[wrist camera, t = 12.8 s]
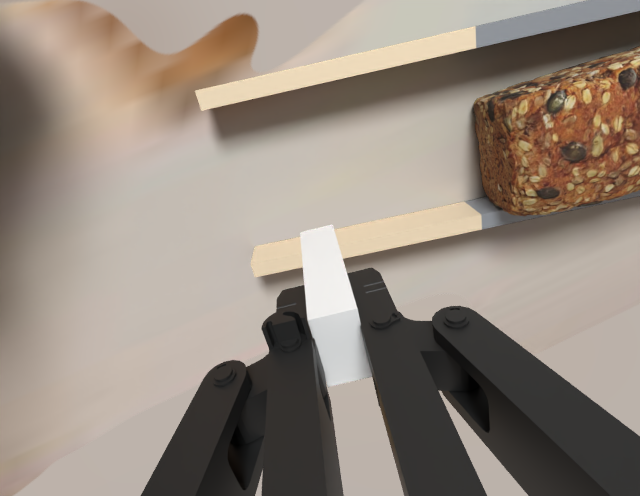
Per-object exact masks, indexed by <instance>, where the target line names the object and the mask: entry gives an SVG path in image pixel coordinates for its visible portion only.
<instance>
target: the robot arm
mask: <svg viewBox="0 0 640 496" xmlns="http://www.w3.org/2000/svg"><path fill="white" fill-rule="evenodd" d="M300 239H301V251H302V263H303V274H304V285H303V286H298V287H294V288H290V289H286V290H282V292H281V293H280V295H279V297H278V298H277V311H276V313H274V314H272V315H271V316H269V317H268V318H267V319H266V320H265V321H264V322H263V325H262V331H263V334H264V336H265V339H266V342H267V344H268V347H269V354H268V355H266V356H265V357H264V358H263V359H261V360H259V361H258V362H256V363H254V364H252V365H250V366H248V367H246V366H245V364H244V363H242V362H241V361H236V360H231V361H226V362H223V363H221V364H219V365H217V366H215V367H214V368H213V369H212V370H210V371H209V372H208V374H207V375H206V376H205V378H204V379H203V381H202V383H201V385H200V387H199V389H198V391H197V392H196V394H195V396H194V398H193V400H192V402H191V403H190V405H189V407H188V409H187V411H186V413H185V414H184V416H183V418H182V420H181V422H180V424H179V426H178V428H177V429H176V431H175V433H174V435H173V437H172V439H171V441H170V442H169V444H168V446H167V448H166V450H165V452H164V454H163V455H162V457H161V459H160V461H159V463H158V465H157V467H156V469H155V470H154V472H153V474H152V476H151V478H150V480H149V481H148V483H147V485H146V487H145V489H144V491H143V493H142V494H141V496H255V494H256V490H257V487H258V483H259V479H260V476H261V472H262V469H263V479H262V496H343V488H342V481H341V475H340V467H339V459H338V453H337V445H336V437H335V430H334V423H333V416H332V408H331V401H330V397H329V394H328V391H327V387H326V383H327V386H328V387H331V386H335V385H340V384H343V383H348V382H352V381H356V380H361V379H364V378H369V377H373V381H374V385H375V390H376V394H377V398H378V402H379V406H380V408H381V411H382V415H383V419H384V422H385V426H386V430H387V433H388V437H389V441H390V445H391V448H392V452H393V456H394V459H395V463H396V466H397V470H398V474H399V478H400V481H401V485H402V488H403V492H404V496H487V495H486V493H485V490H484V488H483V486H482V484H481V482H480V479H479V477H478V475H477V473H476V471H475V469H474V467H473V465H472V462H471V460H470V458H469V456H468V454H467V452H466V449H465V447H464V445H463V443H462V441H461V439H460V436H459V434H458V432H457V430H456V428H455V426H454V424H453V421H452V419H451V417H450V415H449V413H448V411H447V409H446V406H445V404H444V402H443V400H442V398H441V396H440V394H439V391H438V390H441V391H442V393H443V395H444V396H445V397H446V399H447V400H448V401H449V402H450V403H451V404H452V406H453V407H454V408H455V409H456V410H457V412H458V413H459V414H460V415H461V416H462V417H463V419H464V420H465V421H466V422H467V423H468V425H469V426H470V427H471V428H472V429H473V430H474V432H475V433H476V434H477V435H478V436H479V438H480V439H481V440H482V441H483V442H484V444H485V445H486V446H487V447H488V448H489V449H490V451H491V452H492V453H493V454H494V455H495V457H496V458H497V459H498V460H499V461H500V462H501V464H502V465H503V466H504V467H505V468H506V470H507V471H508V472H509V473H510V474H511V475H512V476H513V478H514V479H515V480H516V481H517V482H518V484H519V485H520V486H521V487H522V488H523V490H524V491H525V492H526V493H527V494H528V495H529V496H640V436H638V435H637V434H636V433H635V432H633V431H632V430H631V429H629V428H628V427H627V426H625V425H624V424H622V423H621V422H620V421H619V420H617V419H616V418H615V417H613V416H612V415H611V414H609V413H608V412H607V411H606V410H604V409H603V408H602V407H600V406H599V405H598V404H596V403H595V402H594V401H592V400H591V399H590V398H588V397H587V396H586V395H584V394H583V393H582V392H581V391H579V390H578V389H577V388H575V387H574V386H572V385H571V384H570V383H569V382H568V381H566V380H565V379H564V378H562V377H561V376H560V375H558V374H557V373H556V372H554V371H553V370H552V369H550V368H549V367H548V366H546V365H545V364H544V363H542V362H541V361H540V360H538V359H537V358H536V357H535V356H533V355H532V354H531V353H529V352H528V351H527V350H525V349H524V348H523V347H522V346H520V345H519V344H518V343H516V342H515V341H514V340H512V339H511V338H510V337H508V336H507V335H506V334H504V333H503V332H502V331H501V330H499V329H498V328H497V327H495V326H494V325H493V324H491V323H490V322H489V321H487V320H486V319H485V318H483V317H482V316H481V315H480V314H478V313H477V312H475V311H474V310H472V309H470V308H466V307H461V306H450V307H446V308H443V309H441V310H439V311H438V312H436V313H435V315H434V316H433V317H432V321H413V320H410V319H407V318H405V317H403V315H402V314H401V313H400V312H398V311H397V309H396V307H395V305H394V303H393V301H392V298H391V296H390V294H389V292H388V290H387V288H386V285H385V283H384V281H383V279H382V276H381V274H380V273H379V272H378V271H376V270H375V269H373V268H368V269H364V270H360V271H356V272H352V273H348V274H347V271H346V268H345V265H344V261H343V258H342V255H341V251H340V248H339V244H338V241H337V238H336V234H335V231H334V227H333V224H332V225H328V226H324V227H320V228H316V229H312V230H308V231H304V232H300Z"/></svg>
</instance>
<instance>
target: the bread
mask: <svg viewBox="0 0 640 496" xmlns="http://www.w3.org/2000/svg"><path fill="white" fill-rule="evenodd" d="M474 114H475V116H476V121H475V130H476V135H477V138H478V140H479V151H480V155H481V160H480V169H481V175H482V184H483V188H484V191H485V193H486V194H487V196H488V197H489V199H490V201H491V202H493V203H494V205H496V206H499V207H501V208H502V209H503V211H505V212H508V213H509V214H511V215H517V216H527V215H547V214H550V213H551V212H563V211H568V210H570V209H572V208H573V207H581V206H590V205H595V204H599V203H601V202H602V201H604V200H608V201H609V200H612V199H618V198H620V197H622V196H624V195H627V194H630V193H632V192H637V191H638V190H640V46H638V47H636V48H633V49H631V50H627V51H623V52H620V53H617V54H613V55H610V56H605V57H601V58H599V59H596V60H593V61H590V62H586V63H583V64H579V65H577V66H573V67H570V68H566V69H563V70H560V71H558V72H555V73H551V74H548V75H545V76H542V77H538V78H536V79H534V80H532V81H527V82H522V83H519V84H517V85H514V86H511V87H508V88H507V89H502V90H499V91H497V92H495V93H493V94H489V95H485V96H483V97H480V98H477V99H476V101H475V102H474Z"/></svg>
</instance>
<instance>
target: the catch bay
mask: <svg viewBox="0 0 640 496" xmlns="http://www.w3.org/2000/svg"><path fill="white" fill-rule="evenodd" d="M636 11H640V0H587V1H583V2H579V3H574V4H570V5H566V6H561V7H557V8H553V9H548V10H544V11H540V12H535V13H531V14H527V15H522V16H518V17H514V18H509V19H505V20H500V21H496V22H492V23H487V24H483V25H479V26H474V27H470V28H466V29H461V30H457V31H453V32H448V33H444V34H440V35H435V36H431V37H427V38H422V39H418V40H414V41H409V42H405V43H401V44H396V45H392V46H388V47H383V48H379V49H375V50H370V51H366V52H361V53H357V54H353V55H348V56H344V57H340V58H335V59H331V60H327V61H322V62H318V63H314V64H309V65H305V66H301V67H296V68H292V69H288V70H283V71H279V72H275V73H270V74H266V75H262V76H257V77H253V78H249V79H244V80H240V81H235V82H231V83H227V84H222V85H218V86H214V87H209V88H205V89H201V90H196V91H195V92H196V95H197V98H198V102H199V105H200V108H201V111H203V110H207V109H211V108H216V107H220V106H224V105H229V104H233V103H238V102H242V101H246V100H251V99H255V98H260V97H264V96H268V95H273V94H277V93H281V92H286V91H290V90H295V89H299V88H303V87H308V86H312V85H316V84H321V83H325V82H330V81H334V80H338V79H343V78H347V77H352V76H356V75H360V74H365V73H369V72H373V71H378V70H382V69H387V68H391V67H395V66H400V65H404V64H409V63H413V62H417V61H422V60H426V59H430V58H435V57H439V56H444V55H448V54H452V53H457V52H461V51H466V50H470V49H474V48H479V47H483V46H487V45H492V44H496V43H501V42H505V41H509V40H514V39H518V38H522V37H527V36H531V35H536V34H540V33H544V32H549V31H553V30H558V29H562V28H566V27H571V26H575V25H579V24H584V23H588V22H593V21H597V20H601V19H606V18H610V17H615V16H619V15H623V14H628V13H632V12H636ZM638 196H640V190H638V191H637V192H632V193H630V194H627V195H624V196H622V197H620V198H618V199H612V200H609V201H608V200H604V201H602V202H601V203H599V204H595V205H600V204H605V203H609V202H614V201H619V200H624V199H628V198H633V197H638ZM595 205H590V206H595ZM590 206H581V207H573V208H572V209H570V210H568V211H572V210H576V209H581V208H586V207H590ZM563 212H567V211H563ZM557 213H562V212H551V213H550V214H547V215H527V216H517V215H511V214H509V213H508V212H505V211H503V209H502V208H501V207H499V206H496V205H494V203H493V202H491V201H490V199H489V197H483V198H479V199H474V200H469V201H465V202H460V203H455V204H451V205H446V206H441V207H437V208H432V209H427V210H423V211H418V212H413V213H409V214H404V215H399V216H395V217H390V218H385V219H381V220H376V221H371V222H367V223H362V224H357V225H353V226H348V227H343V228H339V229H334V231H335V234H336V238H337V241H338V244H339V248H340V251H341V255H342V258H343V259H344V258H349V257H354V256H359V255H363V254H368V253H373V252H378V251H382V250H387V249H392V248H396V247H401V246H406V245H411V244H415V243H420V242H425V241H430V240H434V239H439V238H444V237H449V236H453V235H458V234H463V233H467V232H472V231H477V230H482V229H486V228H491V227H496V226H501V225H505V224H510V223H515V222H519V221H524V220H529V219H534V218H538V217H543V216H548V215H553V214H557ZM251 267H252V270H253V273H254V276H255V277H259V276H264V275H269V274H273V273H278V272H283V271H288V270H292V269H297V268H302V267H303V263H302V251H301V239H300V237H297V238H292V239H287V240H283V241H278V242H273V243H269V244H264V245H259V246H255V247H254V252H253V256H252V260H251Z"/></svg>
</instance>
